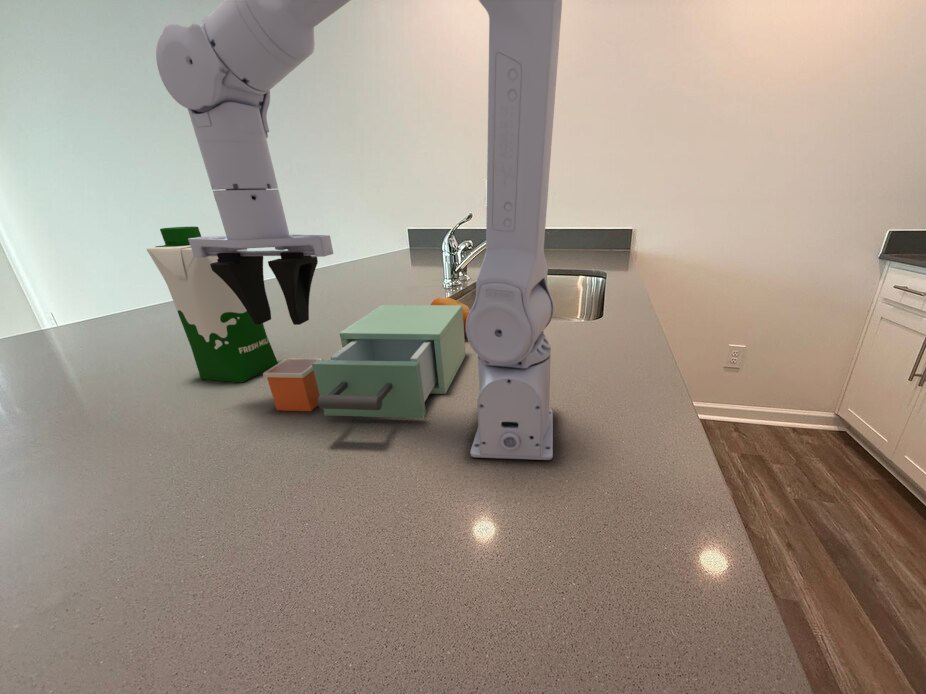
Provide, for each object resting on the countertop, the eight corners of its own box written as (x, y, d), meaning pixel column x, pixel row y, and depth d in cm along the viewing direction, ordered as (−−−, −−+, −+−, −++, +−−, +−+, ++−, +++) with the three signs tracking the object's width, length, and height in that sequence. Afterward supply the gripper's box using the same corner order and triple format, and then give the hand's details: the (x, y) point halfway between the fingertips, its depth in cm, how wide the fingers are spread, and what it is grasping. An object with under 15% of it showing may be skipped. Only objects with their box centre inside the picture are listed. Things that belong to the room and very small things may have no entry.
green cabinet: (445, 394, 52) (439, 333, 49) (351, 391, 53) (339, 332, 50) (465, 355, 64) (462, 305, 61) (388, 354, 66) (381, 304, 62)
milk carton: (239, 358, 65) (194, 225, 56) (288, 362, 63) (250, 224, 55) (189, 381, 57) (129, 230, 49) (244, 386, 56) (192, 230, 47)
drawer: (409, 441, 41) (400, 385, 38) (301, 438, 42) (285, 382, 39) (448, 372, 56) (444, 328, 53) (369, 371, 57) (361, 328, 54)
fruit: (413, 327, 74) (432, 286, 72) (451, 342, 78) (469, 304, 76) (424, 340, 67) (445, 296, 65) (465, 356, 71) (485, 315, 70)
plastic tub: (312, 412, 48) (302, 374, 46) (274, 411, 49) (262, 373, 47) (331, 394, 53) (323, 358, 51) (296, 393, 53) (286, 358, 51)
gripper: (335, 188, 43) (358, 312, 49) (209, 191, 45) (246, 312, 51) (298, 188, 37) (329, 330, 43) (153, 191, 38) (202, 329, 44)
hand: (282, 322), depth 46 cm, fingers open, 4 cm apart
